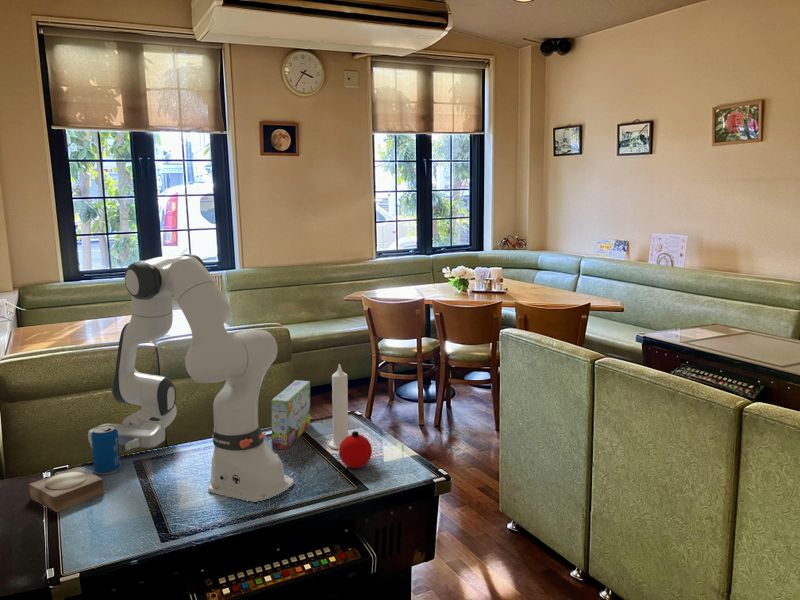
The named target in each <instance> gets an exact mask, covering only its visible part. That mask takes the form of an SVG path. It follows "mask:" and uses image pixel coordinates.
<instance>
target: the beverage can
mask: <svg viewBox="0 0 800 600" xmlns="http://www.w3.org/2000/svg"><path fill="white" fill-rule="evenodd" d="M101 425H102V426H100V425H98V426H96V428H95V427H94V429H93V428H92V429H93V432H92V434H91V438H92V448H91V449H92V459H93V461H92V462H93V470H94V471H93V472H95V473H97V474H98V475H103V476H104V475H110V474H111V475H112V474H114V473H116V472H117V471H118V470H119V469H120V468H121V456H120V446H119V441H118V431H117V429H116V427H115V426H114V425H103V424H101Z"/></svg>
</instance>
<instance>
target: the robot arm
mask: <svg viewBox="0 0 800 600" xmlns="http://www.w3.org/2000/svg"><path fill="white" fill-rule="evenodd" d="M124 283H125V288H126V290H127V291H128V293H129V295H131V306H130V307H131V316H130V320H129V322H127V323H126V324H124V326H123V327H122V329H121V333H120V336H119V341H118V349H117V356H116V361H115V362H116V364H115V371H114V375H113V377H112V378H113V379H112V381H111V387H110V391H111V395H112V396H113V398H114V399H115V400H116V401H115V402H117V403H119V404H126V405H137V406H141V407H140V409H139V410H137V411H135V412H134V413H133V412H132V414H129V415H128V416H126V417H125V418H124V419H123V420H122V422H121V423H120V424H119V423H104V424H100V425H99V426H102V425H114V426H115V427H116V429H117V431H118V441H119V447H122V448H121V450H122V451H129V450H131V449H135V448H147V449H151V448H155V447H157V446H158V445H160V444H162V443H163V442H165V441H166V428H168V426H170V424H171V423H172V422H173V421H174V420H175V418H176V416H177V412H178V411H177V405H176V400H177V390H176V386H175V384H174V382H173V380H172V379H171V378H169V377H167V376H163V375H157V374H150V373H145V372H144V373H143V372H141V371H140V372H139V371H138V370H137V368H136V360H137V359H136V358H137V354H138V347H139V345H140V344H144V343H149V342H153V341H157V340H159V339H161V338H163V337H164V336H165V335H167V334H168V333H169V331H170V330H171V328H172V326H173V317H174V314H173V296H174V298H175V301H176V302H177V304H178V306H179V308H180V309H181V312H182V313H183V315H184V317H185V319H186V321H187V323H188V325H189V327H190V330H191V344H190V346H189V348H188V350H187V352H186V354H185V359H184V364H185V369H186V372H187V373H188V375H189V377H190V378H191V379H192V380H193V381H194V382H196V383H199V384H210V383H211V384H214V383H220V382H223V381H225V383H224V385H223V387H222V389H221V390H219V392H218V393H217V394H216V396H215V397H214V400H213V403H212V404H213V405H212V407H213V426H214V427H213V429H212V434H211V435H212V443H213V445H214V448H213V449H214V450H213V453H212V458H211V468H210V469H211V471H210V473H211V474H210V481H209V485H208V489H207V492H208V493H210V492H211V494H214V493H216V494H215V495H219V494H221V495H220V496H223V495H225V496H224V497H227V496H229V497H228V498H231V497H233V498H232V499H235V498H237V499H236V500H239V499H243V500H242V501H244V500H248V501H252V502H257V501H262V500H265V499H269V498H271V497H273V496H275V495H277V494H279V493H281V492H283V491H285V490H287V489H288V488H289V487H291V486H292V484H293V483H294V484H295V482H294V481H295V480H294V479H293V478H291V477H290V476H288V475H287V474H285V471H284V465H283V462H282V460H281V459H280V456H279V454H278V453H275V452H274V451H273V450H272V449H271V448H270V447H269V445H267V444H266V442H265V438H266V437H267V435H266V434H267V432H262V429H261V426H260V424H259V398H260V397H259V395H260V390H261V387H262V383H263V381H264V378H265V376H266V373H267V372H268V370H269V369H270V367H271V365H272V364H273V363H274V362H275V360H277V359H276V358H277V357H278V349H279V348H278V344H277V341H276V338H275V337H274V336H273V334H272V333H271V332H270V331H267V330H266V329H265V330H264V329H247V330H242V331H239V332H234V333H229V332H228V331H227V329H226V327H225V324H226V322H227V321H228V319H229V317H230V315H231V306H230V304H229V302H228V300H227V298H226V297H225V295H224V293H223V292H222V290H221V288H220V286H219V285H218V284H217V282H216V280H215V279H214V277H213V275H212V274H211V273H210V272H209V270H208V269H207V267H206V264H205V263H204V261H203V260H202V258H201V257H199V256H198V255H196V254H188V253H187V254H182V255H168V256H157V257H153V258H148V259H145V260H137V261H134V262H133V263H130V264H129V265H127V268H126V270H125V272H124ZM96 427H97V426H96ZM96 427H94V428H96ZM94 428H91V429H89V430H88V431H87V432H88V433H87V438H88V442H89V444H90V448H91V449H92V438H91V434H92V432H93V429H94ZM294 484H293V485H294ZM292 487H293V486H292ZM292 487H291V488H292ZM288 490H289V489H288ZM288 490H287V491H288ZM269 500H270V499H269ZM248 501H247V502H248ZM252 502H251V503H252ZM262 502H263V501H262ZM257 503H258V502H257Z"/></svg>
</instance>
